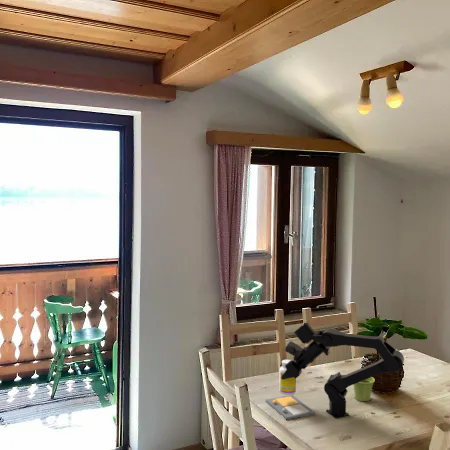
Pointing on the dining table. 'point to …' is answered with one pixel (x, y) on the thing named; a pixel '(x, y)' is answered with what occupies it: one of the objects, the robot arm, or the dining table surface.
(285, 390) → the supplement bottle
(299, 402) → the board
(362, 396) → the plant pot
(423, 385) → the dining table surface
